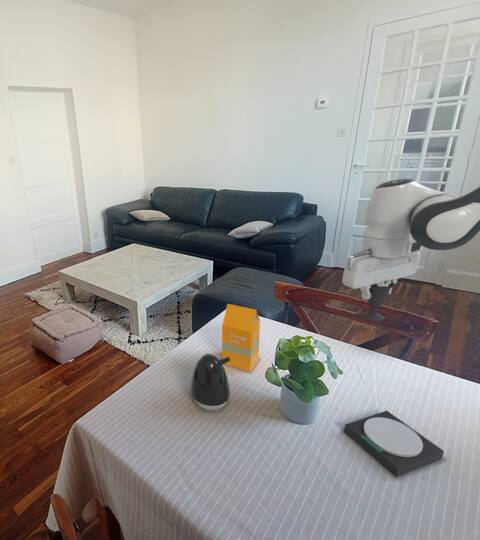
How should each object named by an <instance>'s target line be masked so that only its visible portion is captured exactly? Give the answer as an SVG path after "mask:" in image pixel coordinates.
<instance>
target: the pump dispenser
mask: <svg viewBox="0 0 480 540" xmlns="http://www.w3.org/2000/svg"><path fill="white" fill-rule="evenodd" d="M229 361H230V357H226V358H223V359H222V358H220V359H219V358H218V357H217V356H216V355H214V354H212V353H206V354H203V355H202V356H200V357H199V359H198V361H197V362H196V364H195V367H194V369H193V372H192V375H191V380H190V394H191V396H192V398H193V400H194V402H195V404H196V405H197V406H199V408H201V409H203V410H206V411H213V412H214V411H218V410H220V409H222V408H223V407H225V406H226V404H227V402H228V401H229V399H230V397H231V388H230V382H229V376H228V375H227V371H226V369H225V367H224V365H226V364H225V363H227V362H229Z"/></svg>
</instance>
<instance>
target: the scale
mask: <svg viewBox="0 0 480 540" xmlns="http://www.w3.org/2000/svg"><path fill="white" fill-rule="evenodd" d="M343 433H344V434H346V435H347V436H348V437H349V438H350V439H351V440H352V441H353V442H355V443H356V444H357V445H358V446H359V447H361V449H362V450H364V451H365V452H366V453H367V454H369V456H370V457H372V458H373V459H374V460H375V461H376V462H378V463H379V464H380V465H381V466H382V467H383V468H385V469H386V470H387V471H388V472H389V473H390V474H391V475H393V476H394V477H395V478H397V477H400V476H403V475H405V474H408V473H410V472H412V471H415V470H418V469H420V468H423V467H425V466H428V465H430V464H433V463H436V462H438V461H440V460H442V459H443V456H444V454H445V450H443V449H442V448H440V447H439V446H438V445H436V444H435V443H433V442H432V441H430V440H429V439H428V438H426V437H425V436H423V435H422V434H421V433H419V432H418V431H417V430H415V429H414V428H413V427H410V425H408V424H407V423H405V422H404V421H402V420H401V419H400V418H399V417H397V416H395V415H394V414H392V413H391V412H390V411H388V410H384V411H381V412H378V413H375V414H372V415H369V416H366V417H364V418H363V417H362V418H360V419H358V420H354V421H352V422H349V423H346V424H344V429H343Z"/></svg>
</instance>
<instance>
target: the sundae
mask: <svg viewBox="0 0 480 540" xmlns="http://www.w3.org/2000/svg"><path fill="white" fill-rule="evenodd" d="M395 285H396V284H395V283H394V282H391V280H389V281H384V282H382V283H377V284H373V285H371V288H369V291H370V292H371V293H373V295H372V298H371V299H368V300H366V301H367V303H368V304H370V305H371V308H370V311H364V312H362V313H361V316H362V317H363V318H364V319H366V320H369V321H371V322H381V321H384V320H385V316H384V315H382V314H381V313H378V312H377V309H378V307H379V306H382V305H384V304H385V302H386V301H387V299H388V295H389V294H388V293H389V291H390V288H392V287H393V288H394V287H395ZM393 288H392V289H393Z"/></svg>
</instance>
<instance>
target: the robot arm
mask: <svg viewBox="0 0 480 540" xmlns="http://www.w3.org/2000/svg"><path fill="white" fill-rule="evenodd" d="M366 221H367V225H366V229H365V230H364V233H363V240H362V248H361V251H356V252H353V254H352V255H351V256H350V257H348V259H347V261H346V263H345V267H344V269H343V274H342V279H341V282H342V284H343V285H344V286H345V287H348V288H349V289H353V290H357V289H360V292H361V299H363V300H366V301H367V300H368V299H371V298H372V295H373V293H371V292H370V291H369V288H371V285H373V284H377V283H382V282H384V281H389V280H391V282H394V283H395V285H396V284H397V282H398V279H402V278H406V277H410V276H414V275H415V274H416V272H417V271H418V268H419V265H420V261H421V252H420V251H422V250H423V248H426V249H428V250H434V251H448V250H449V251H450V250H453V249H457V248H460V247H462V246H464V245H466V244H467V243H469V242H470V241H471V240H472V239H474V238H475V236H476V235H478V234H479V232H480V185H478V186H477V187H475V188H474V189H472V190H470V191H469V192H467V193H465V194H463V195H461V196H459V195H456V194H454V193H450V192H446V191H441V190H436V189H433V188H431V187H428V186H425V185H423V184H421V183H419V182H417V181H416V180H415V179H412V178H399V179H394V180H393V179H392V180H387V181H385V182H382V183H380V184H379V185H377V186H376V187H375V188H374V189H373V190H372V192H371V195H370V198H369V202H368V206H367V212H366ZM410 236H411V238H412V239H411V238H410ZM393 288H394V287H392V288H390V291H389V293H388V295H391V294H392V290H393Z"/></svg>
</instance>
